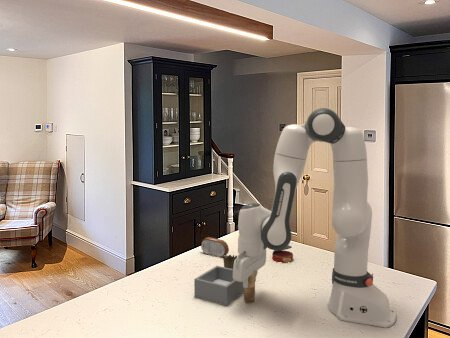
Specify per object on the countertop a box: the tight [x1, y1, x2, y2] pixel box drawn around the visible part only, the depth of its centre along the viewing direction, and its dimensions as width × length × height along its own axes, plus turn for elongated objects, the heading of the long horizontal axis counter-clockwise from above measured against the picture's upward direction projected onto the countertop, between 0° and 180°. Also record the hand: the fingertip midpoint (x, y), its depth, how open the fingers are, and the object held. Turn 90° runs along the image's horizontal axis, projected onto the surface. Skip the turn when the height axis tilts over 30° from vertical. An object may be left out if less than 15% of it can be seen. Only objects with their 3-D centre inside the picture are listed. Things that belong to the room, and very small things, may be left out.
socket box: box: [193, 265, 244, 307], centre depth 149 cm, size 14×16×7 cm
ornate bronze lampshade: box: [222, 254, 238, 269], centre depth 166 cm, size 8×7×8 cm
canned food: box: [271, 244, 294, 264], centre depth 186 cm, size 11×10×10 cm
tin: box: [200, 236, 230, 258], centre depth 192 cm, size 15×3×8 cm, turn 58°
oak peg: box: [243, 270, 256, 304], centre depth 143 cm, size 4×4×12 cm
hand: (249, 284), depth 143 cm, fingers closed on oak peg, 4 cm apart
